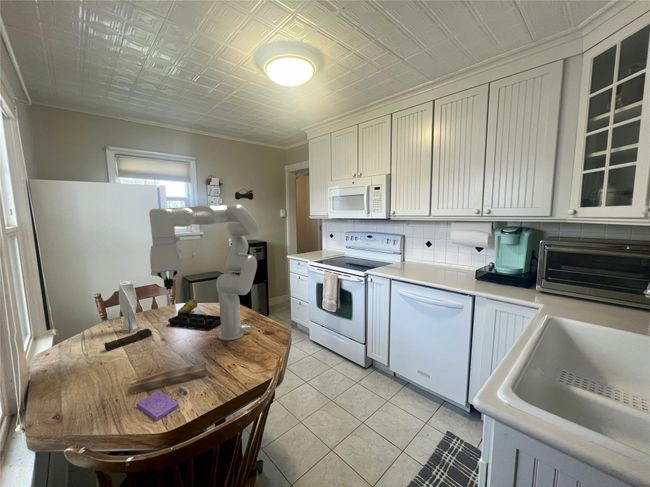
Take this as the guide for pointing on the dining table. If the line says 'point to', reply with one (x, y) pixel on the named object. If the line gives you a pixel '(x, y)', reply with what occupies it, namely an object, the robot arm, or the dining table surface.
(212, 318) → the black openwork frame
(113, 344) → the hand tool
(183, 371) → the walnut board
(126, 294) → the skyscraper
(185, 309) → the potato
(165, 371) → the carpenters pencil
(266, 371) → the dining table surface
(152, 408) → the sponges
